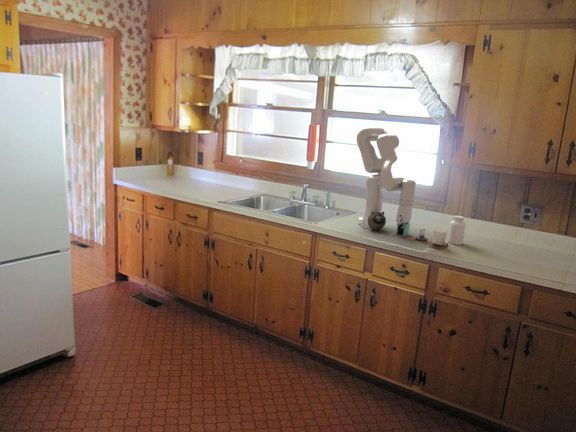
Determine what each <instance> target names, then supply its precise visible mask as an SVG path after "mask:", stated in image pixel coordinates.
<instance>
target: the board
mask: <svg viewBox="0 0 576 432" xmlns="http://www.w3.org/2000/svg"><path fill="white" fill-rule="evenodd" d="M389 236H390V237H394V238H395V237H396V238H399V239H402V240H408V241H412V242H416V243H420V244H424V245H428V246H429V247H430V248H432V249H437V250H443V249H445V248H446V247H448V246H449V242H448V243H446V242H445V243H444V246H443V247H437V246H434V245H432V238H431V239H430V238H427V241H426V242H421V241H417V240H416V237H417V235H413V234H408V235H407V236H405V237H404V236H400V235H396V231H395V232H392V233H390V234H389Z"/></svg>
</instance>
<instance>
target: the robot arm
mask: <svg viewBox="0 0 576 432" xmlns="http://www.w3.org/2000/svg"><path fill="white" fill-rule="evenodd" d="M372 142H375V143H376V146H377V149H378V151H379V152H378V153H379V155H380V156H378V155H377V153H376V149H375V147H374V146H373V144H372ZM356 143H357V146H358V147H357V148H358V149H359V152H360V156H361V159H362V163H363V167H364V170H365V171H366V172H367V173H368V174H372V175H370V176H368V178H367V179H366V185H365V186H366V199H365V209H364V217H358V222H361V224H360V226H361V227H362V228H364V229H369V228H370V229H372V228H371V227H370V226H369V225H368V217H369V216H370V215H371V211H372V212H380V213H382V210H383V209H382V208H383V200H384V199H383V198H384V197H383V194H382V191H387V192H399V193H400V194H399V203H398V209H397V213H396V217H395V218H396V219H395V222H396V225H397V224H398V232H397V234H398V235H403V230H404V228H403V226H404V223H409V224H410V221H411V219H412V213H413V206H414V200H415V192H416V187H417V185H416V184H417V182H416V181H415V180H412V179H406V178H404V177H393V173H392V166H393V165H394V163H396V162H397V160H398V156H397V153H396V150H395V149H397V148H398V147H399V144H400V139H399V137H398V136H397V135H396V134H395V133H393V132H391V131H389V130H388V129H386V128H384V127H381V126H369V125H368V126H363V127H362V128H360V129H359V130H358V132H357V134H356ZM402 222H403V223H402Z"/></svg>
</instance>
